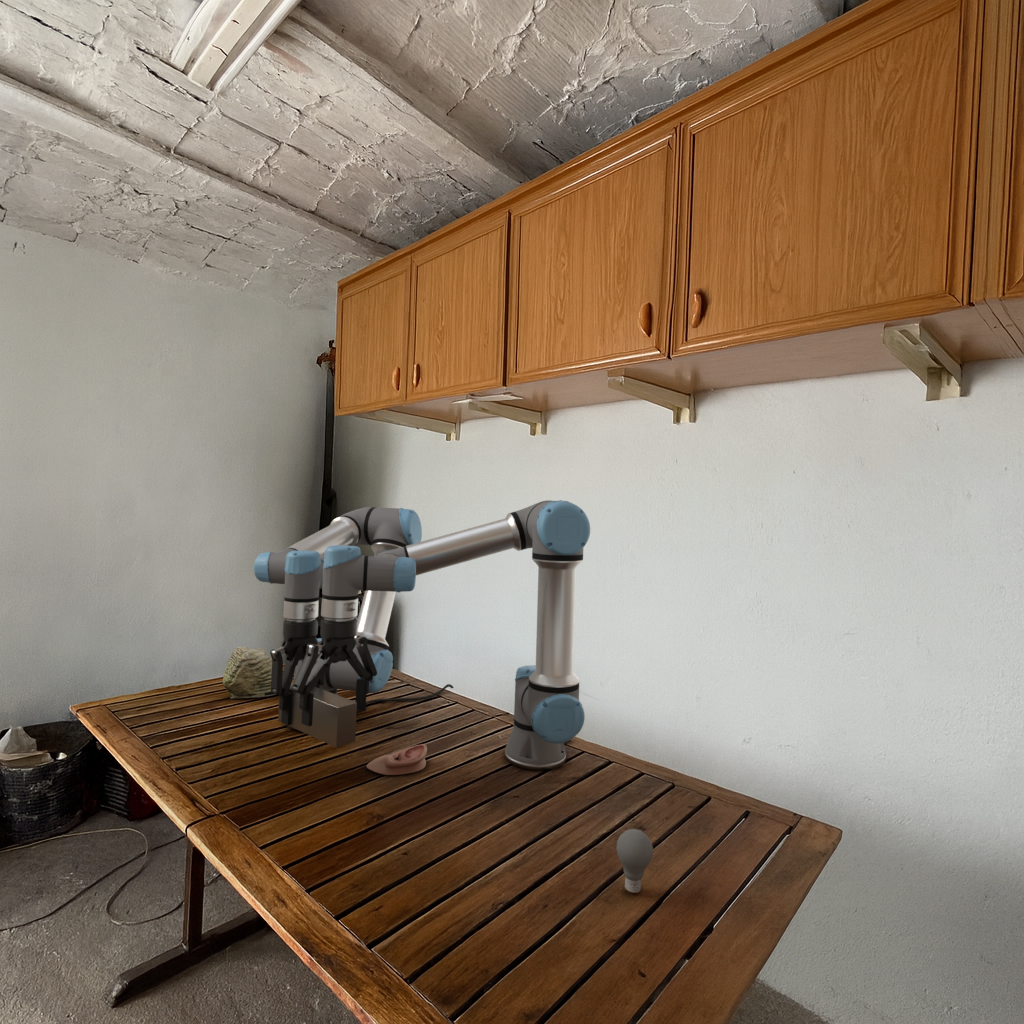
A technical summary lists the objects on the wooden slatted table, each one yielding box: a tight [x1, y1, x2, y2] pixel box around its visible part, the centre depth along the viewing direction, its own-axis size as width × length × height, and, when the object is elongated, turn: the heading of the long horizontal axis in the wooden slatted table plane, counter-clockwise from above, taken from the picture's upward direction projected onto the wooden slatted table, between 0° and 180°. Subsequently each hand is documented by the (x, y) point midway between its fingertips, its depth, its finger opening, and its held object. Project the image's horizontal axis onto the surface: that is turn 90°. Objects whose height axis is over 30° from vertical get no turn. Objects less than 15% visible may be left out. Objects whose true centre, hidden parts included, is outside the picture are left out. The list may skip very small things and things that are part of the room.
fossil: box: [222, 646, 276, 699], centre depth 198 cm, size 9×18×15 cm, turn 132°
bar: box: [277, 681, 358, 748], centre depth 140 cm, size 22×5×8 cm, turn 51°
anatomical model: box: [366, 743, 428, 776], centre depth 150 cm, size 13×4×12 cm
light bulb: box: [615, 828, 654, 894], centre depth 106 cm, size 6×6×10 cm
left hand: (297, 720), depth 145 cm, fingers closed on bar, 5 cm apart
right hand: (334, 716), depth 135 cm, fingers open, 13 cm apart
